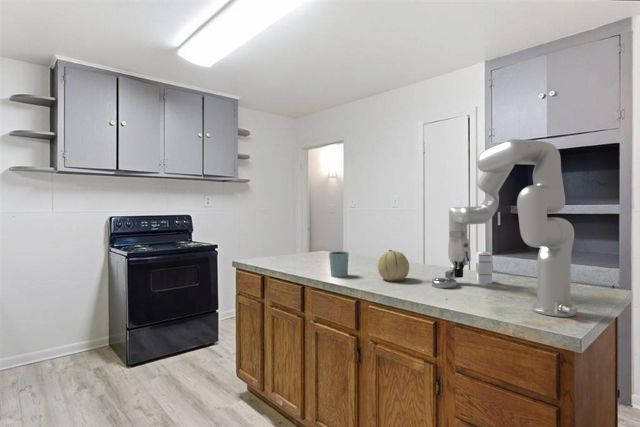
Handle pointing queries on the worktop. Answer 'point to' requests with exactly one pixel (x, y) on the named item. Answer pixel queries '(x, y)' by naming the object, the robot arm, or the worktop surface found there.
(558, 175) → the robot arm
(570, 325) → the worktop surface
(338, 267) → the drinking glass
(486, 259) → the syrup box
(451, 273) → the silver door handle
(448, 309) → the worktop surface
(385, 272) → the cantaloupe
